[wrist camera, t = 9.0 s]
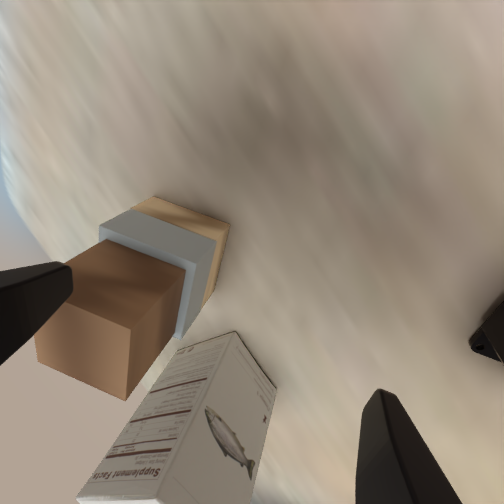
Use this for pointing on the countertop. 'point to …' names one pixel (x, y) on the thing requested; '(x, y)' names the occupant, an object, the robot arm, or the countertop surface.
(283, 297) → the countertop surface
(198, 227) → the tower base
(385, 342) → the countertop surface
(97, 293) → the walnut cube
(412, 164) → the countertop surface
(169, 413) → the supplement box
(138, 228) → the tower mid
